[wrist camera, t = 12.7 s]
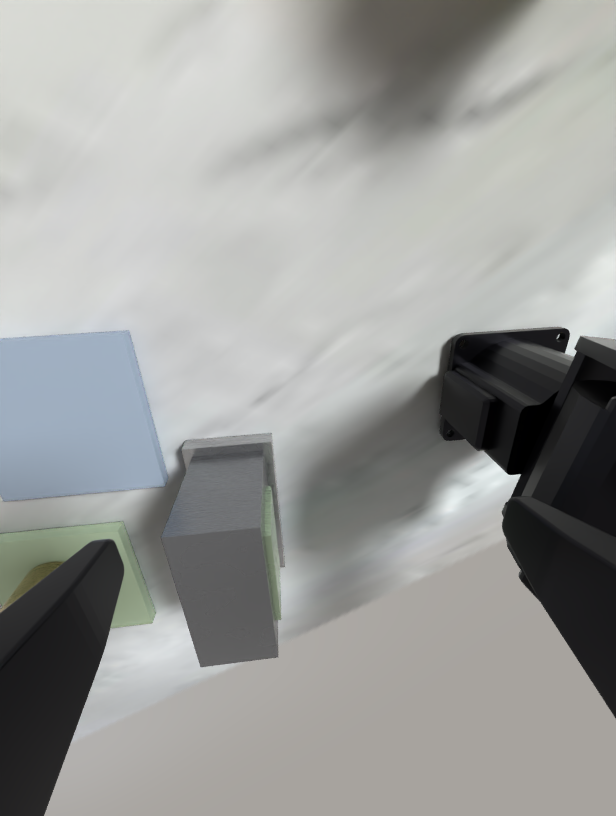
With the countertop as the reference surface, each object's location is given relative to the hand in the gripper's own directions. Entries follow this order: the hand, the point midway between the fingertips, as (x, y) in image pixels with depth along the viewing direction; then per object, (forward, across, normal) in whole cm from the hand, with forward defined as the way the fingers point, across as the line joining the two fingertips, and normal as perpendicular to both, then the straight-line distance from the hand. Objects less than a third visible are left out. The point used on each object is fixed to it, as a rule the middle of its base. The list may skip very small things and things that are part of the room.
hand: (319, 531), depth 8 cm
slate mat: (+12, +12, +2) cm, 17 cm away
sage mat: (+12, +16, +14) cm, 24 cm away
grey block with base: (+12, +4, +9) cm, 15 cm away
